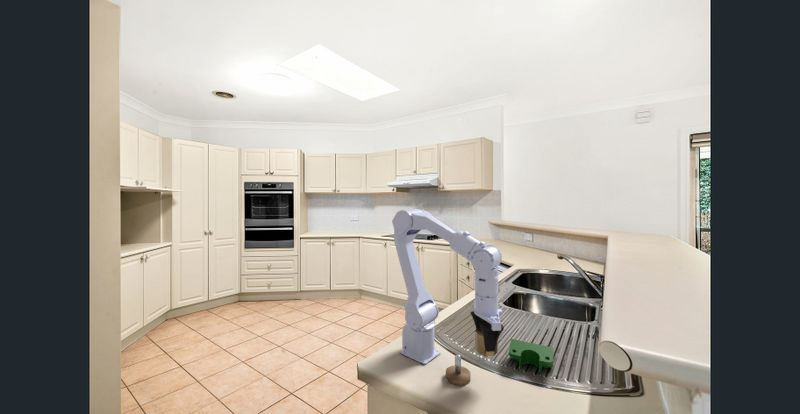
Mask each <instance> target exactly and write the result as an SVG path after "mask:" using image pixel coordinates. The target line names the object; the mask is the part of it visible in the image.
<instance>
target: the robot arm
mask: <svg viewBox="0 0 800 414" xmlns="http://www.w3.org/2000/svg"><path fill="white" fill-rule="evenodd" d="M391 222H392V226H393V230H394V233H393V241H394V245H395V249H396V254H397V257H398V261H399V264H400V267H401V273H402V276H403V280H404V283H405V288H406V292H407V295H408V297H407V299H406V302H405V303H404V309H405V315H404V319H405V322H406V323H405V324H404V326H403V328H402V332H401V333H402V334H401V335H402V336H401V338H402V339H401V340H402V342H401V343H402V350H401V351H400V354H401V355H403V356H405V357H408V358H409V359H412V360H414V361H417V362H418V363H421V364H423V365H427V364H428V363H430V362H431V361H432V360H434V359H435V358H436V357H437V356H439V355H441V351H439V350H437V349H435V325H436V319H437V318H438V317H439V313H440V312H439V307H438V305H437V304H436V303H435V300H434V297H433V295H432V294H430V292H427V290H426V286H425V282H424V278H423V275H422V272H421V267H420V264H419V260H418V256H417V252H416V249H415V245H414V242H413V241H414V240H415V238H416V237H417V235H418V234H419V233H420V232H421V231H422V230H426V231H428V232H430V233H432V234H433V235H435V236H437V237H439V238H441V239H442V240H444V241H445V242H448V244H449V249H451V250H452V251H453V252H455V253H457V254H458V255H460V256H461V257H463V258H464V259H466V260H467V261H469V262H470V263H471V266H472V268H473V269H474V300H473V311H471V312H470V315H471V318H472V319H473V322H474V326H475V330H476V329H478V328H479V327H480V328H481V330H482V333H483V337H484V345H485V350H486V352H494V351H495V348H496V344H497V341H498V342H499V338H500V336H501V334H502V333H503V331H504V329H505V327H504V325H503V324H502V322H501V321H500V315H502V314H503V310H502V309H501V308H499V266H500V264H501V262H502V261H503V259H502V258H503V257H502V256H503V255H502V253H501V251H500V250H499V249H498V248H497V247H496V246H495V245H493V244H487V245H486V242H485V241H483V240H482V241H480V240H478V239H476V238H474V236H472V235H471V233H470V232H469V231H463V230H460V231H455V230H453V229H452V228H451V227H449V226H447V225H446V224H445V223H444V222H442V221H440V220H439V219H437V218H436V217H435V216H433V215H432V214H431V213H430V212H429V211H426V210H425V209H423V208H415V209H413V208H412V209H405V210H404V209H402V210H399V211H397V212H396V213H395V215H394V217H393V219H392V220H391Z"/></svg>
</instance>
